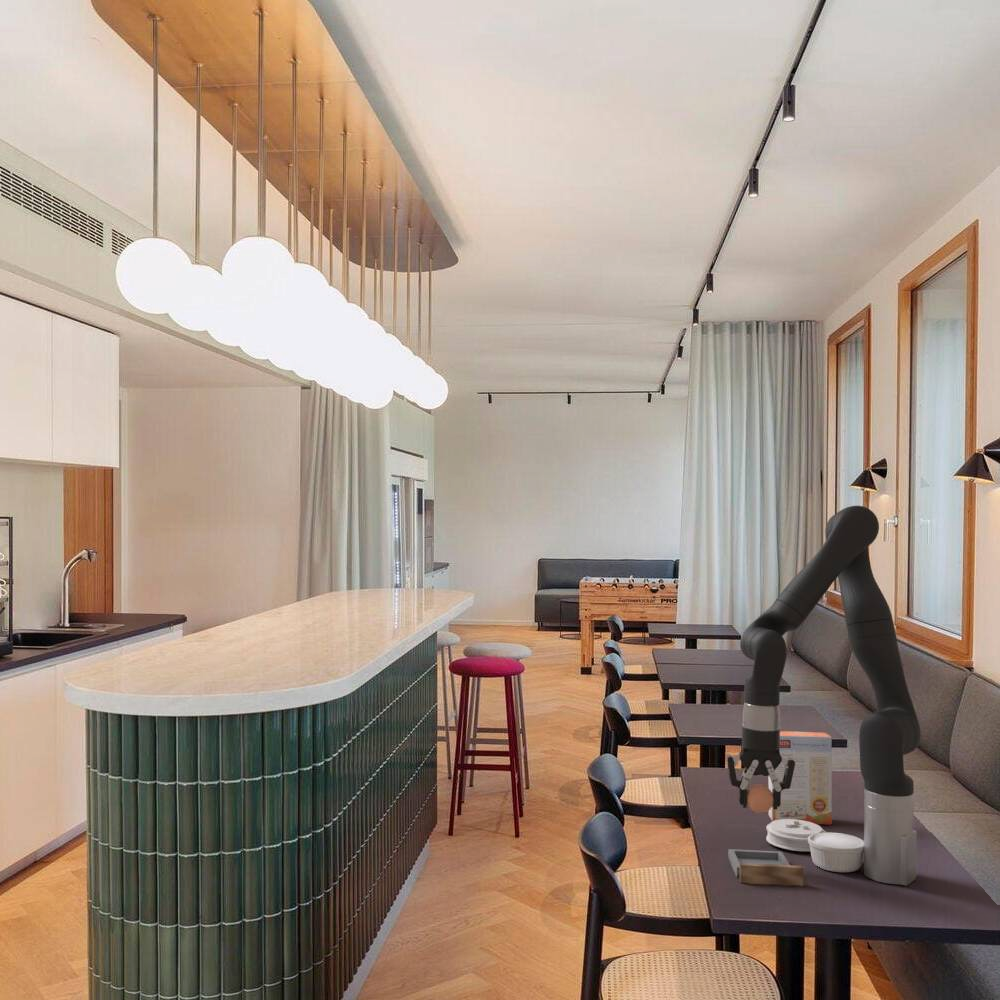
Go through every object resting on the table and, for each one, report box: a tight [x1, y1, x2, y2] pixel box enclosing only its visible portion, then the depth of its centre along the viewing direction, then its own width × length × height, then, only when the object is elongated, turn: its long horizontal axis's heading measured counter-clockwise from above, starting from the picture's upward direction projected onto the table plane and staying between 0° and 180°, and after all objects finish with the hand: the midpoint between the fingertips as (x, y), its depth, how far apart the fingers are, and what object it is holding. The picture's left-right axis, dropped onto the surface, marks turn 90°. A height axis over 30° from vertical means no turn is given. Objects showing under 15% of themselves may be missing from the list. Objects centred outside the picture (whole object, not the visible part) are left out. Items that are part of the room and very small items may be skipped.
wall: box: [739, 863, 804, 886], centre depth 188 cm, size 12×1×4 cm, turn 85°
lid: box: [765, 819, 827, 852], centre depth 212 cm, size 13×13×5 cm
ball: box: [747, 784, 774, 814], centre depth 197 cm, size 6×6×6 cm
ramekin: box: [808, 832, 864, 873], centre depth 199 cm, size 11×11×5 cm
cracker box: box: [767, 730, 833, 826], centre depth 230 cm, size 14×6×21 cm, turn 84°
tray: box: [727, 848, 791, 879], centre depth 196 cm, size 11×11×2 cm
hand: (759, 807), depth 197 cm, fingers closed on ball, 5 cm apart
